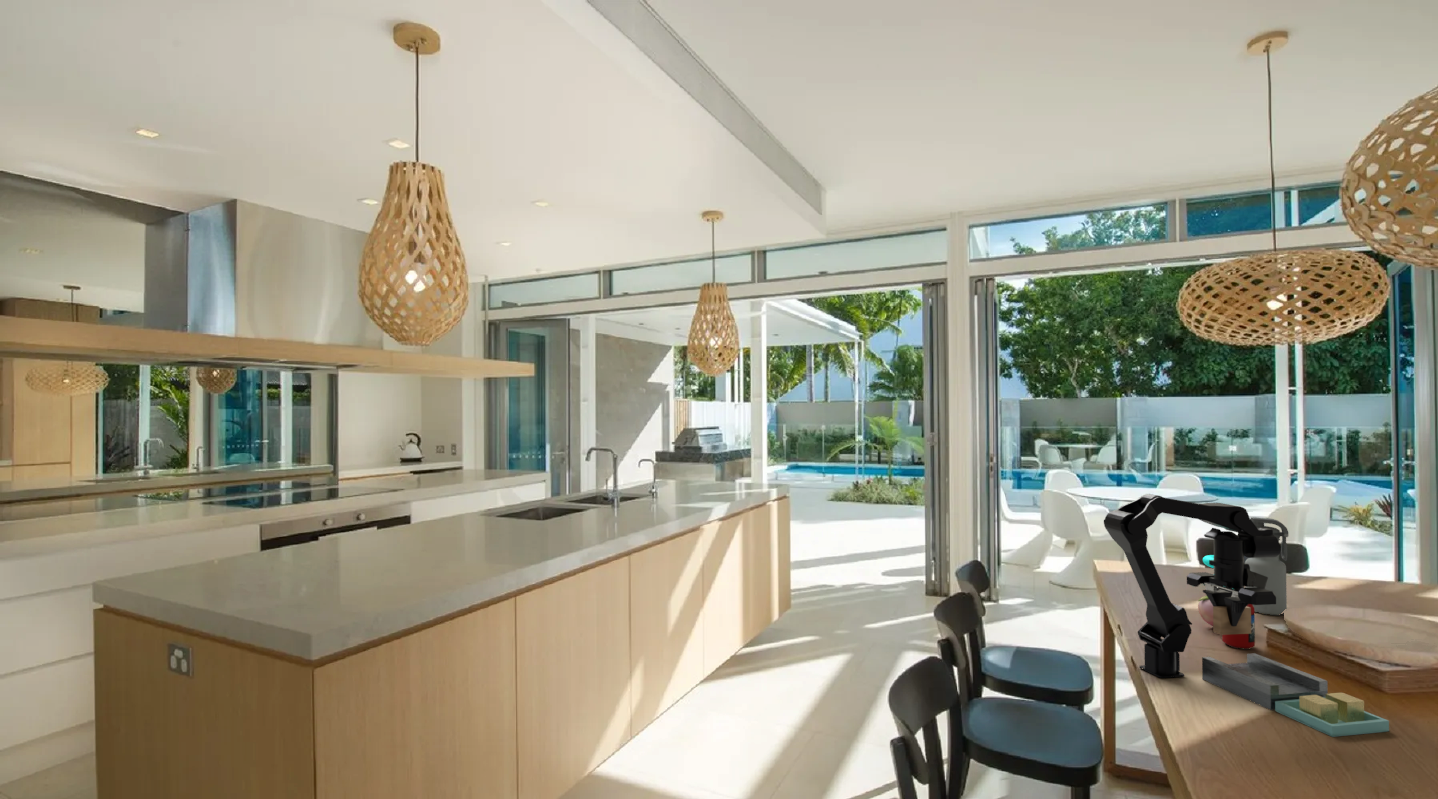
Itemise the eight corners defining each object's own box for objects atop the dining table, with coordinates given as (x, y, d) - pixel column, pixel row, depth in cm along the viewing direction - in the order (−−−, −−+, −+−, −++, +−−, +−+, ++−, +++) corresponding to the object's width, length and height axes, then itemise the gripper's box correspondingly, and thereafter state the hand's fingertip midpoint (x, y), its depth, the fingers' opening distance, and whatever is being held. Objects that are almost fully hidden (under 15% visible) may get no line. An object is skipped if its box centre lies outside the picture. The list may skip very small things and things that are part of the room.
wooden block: (1220, 634, 157) (1220, 609, 157) (1213, 632, 159) (1213, 606, 159) (1251, 633, 158) (1251, 607, 158) (1243, 630, 160) (1243, 605, 160)
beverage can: (1260, 651, 172) (1260, 604, 172) (1230, 649, 173) (1230, 602, 173) (1245, 642, 178) (1245, 596, 178) (1216, 640, 180) (1216, 595, 180)
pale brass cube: (1299, 716, 134) (1320, 725, 131) (1299, 696, 135) (1320, 704, 131) (1316, 714, 135) (1337, 724, 131) (1316, 694, 135) (1337, 703, 131)
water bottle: (1285, 609, 207) (1284, 518, 207) (1291, 618, 198) (1290, 522, 199) (1243, 604, 212) (1242, 515, 213) (1247, 612, 204) (1246, 519, 204)
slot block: (1270, 710, 138) (1270, 685, 138) (1202, 679, 154) (1202, 657, 154) (1327, 705, 141) (1327, 680, 141) (1254, 675, 156) (1254, 653, 157)
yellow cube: (1325, 714, 136) (1347, 723, 132) (1325, 693, 136) (1347, 702, 132) (1342, 712, 136) (1364, 721, 132) (1342, 692, 136) (1364, 700, 132)
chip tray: (1332, 737, 127) (1332, 726, 127) (1275, 711, 138) (1275, 701, 138) (1389, 731, 129) (1388, 720, 129) (1328, 706, 140) (1328, 696, 140)
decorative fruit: (1225, 624, 193) (1224, 589, 193) (1244, 633, 185) (1244, 597, 185) (1190, 623, 194) (1190, 588, 194) (1208, 632, 186) (1207, 596, 186)
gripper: (1297, 566, 151) (1298, 636, 151) (1224, 548, 169) (1225, 611, 169) (1253, 567, 149) (1253, 638, 149) (1184, 550, 168) (1185, 613, 168)
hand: (1229, 624), depth 159 cm, fingers closed on wooden block, 2 cm apart
